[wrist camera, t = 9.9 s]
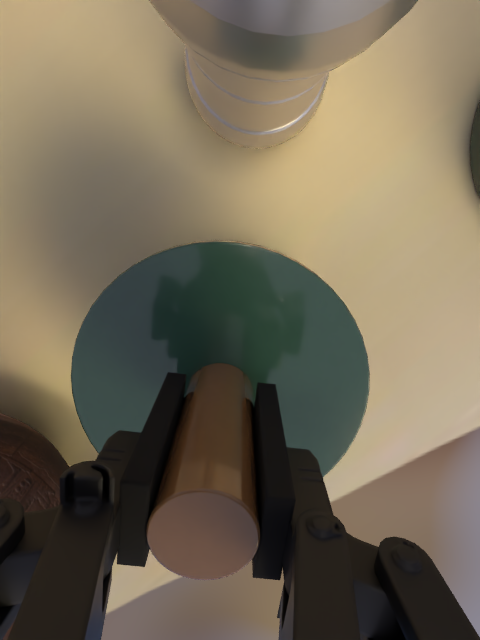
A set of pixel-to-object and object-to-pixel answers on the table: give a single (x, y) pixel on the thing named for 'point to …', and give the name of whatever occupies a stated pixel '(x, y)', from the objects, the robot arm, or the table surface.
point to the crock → (476, 150)
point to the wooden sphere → (28, 468)
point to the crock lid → (219, 384)
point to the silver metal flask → (270, 58)
